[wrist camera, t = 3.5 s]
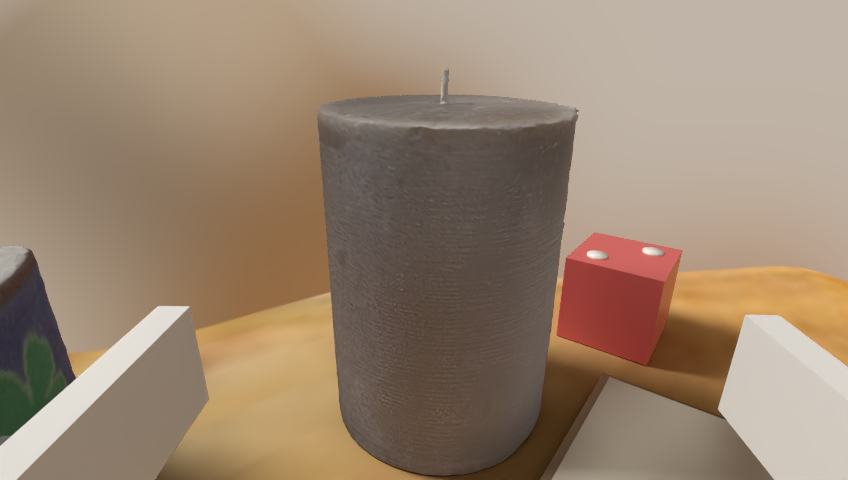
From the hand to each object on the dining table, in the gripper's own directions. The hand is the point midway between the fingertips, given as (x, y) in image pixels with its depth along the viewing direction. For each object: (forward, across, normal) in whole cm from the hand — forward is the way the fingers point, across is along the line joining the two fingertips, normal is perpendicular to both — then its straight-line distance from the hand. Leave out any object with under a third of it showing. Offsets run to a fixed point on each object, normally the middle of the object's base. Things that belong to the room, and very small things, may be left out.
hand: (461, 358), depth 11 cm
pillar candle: (+9, 0, -9) cm, 12 cm away
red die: (+15, +10, -8) cm, 20 cm away
